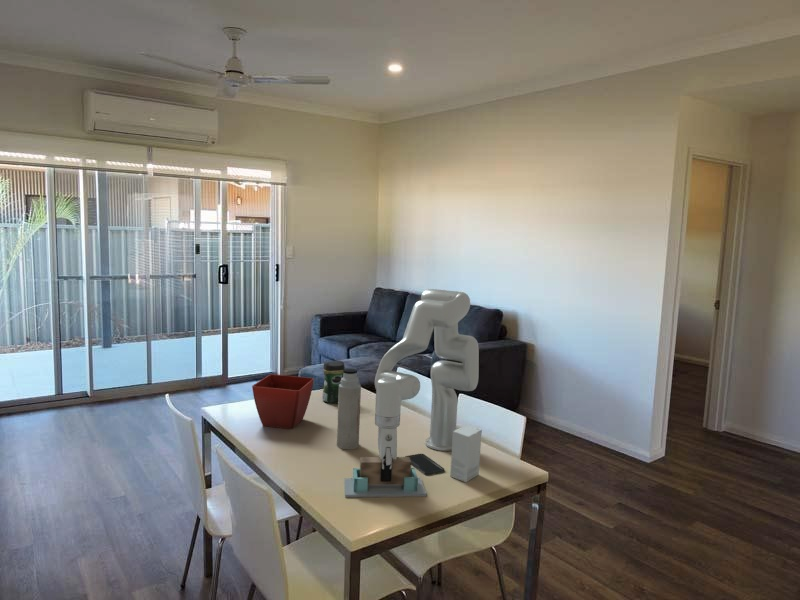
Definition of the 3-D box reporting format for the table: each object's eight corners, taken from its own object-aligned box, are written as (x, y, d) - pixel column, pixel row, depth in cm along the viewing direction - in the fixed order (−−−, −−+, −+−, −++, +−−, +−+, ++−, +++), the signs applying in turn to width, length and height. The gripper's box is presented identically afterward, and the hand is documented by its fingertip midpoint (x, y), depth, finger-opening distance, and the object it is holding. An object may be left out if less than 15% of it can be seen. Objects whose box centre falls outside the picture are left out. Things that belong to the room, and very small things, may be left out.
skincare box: (463, 469, 186) (466, 424, 184) (480, 475, 182) (483, 429, 180) (449, 477, 179) (451, 430, 178) (466, 483, 175) (469, 435, 174)
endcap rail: (420, 479, 176) (421, 465, 176) (426, 496, 165) (427, 480, 165) (344, 480, 173) (344, 466, 173) (345, 497, 162) (345, 481, 162)
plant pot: (297, 433, 212) (299, 390, 210) (250, 428, 215) (251, 385, 213) (313, 417, 231) (314, 377, 229) (269, 413, 234) (270, 374, 232)
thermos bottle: (361, 442, 206) (364, 368, 202) (355, 450, 198) (358, 373, 195) (340, 440, 207) (343, 366, 204) (333, 447, 199) (336, 371, 196)
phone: (422, 453, 196) (445, 469, 183) (422, 456, 196) (445, 472, 183) (402, 456, 193) (425, 473, 179) (402, 459, 193) (425, 476, 180)
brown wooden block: (408, 478, 172) (409, 456, 171) (410, 484, 168) (411, 462, 167) (359, 479, 170) (360, 457, 169) (360, 485, 166) (361, 462, 165)
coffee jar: (339, 397, 261) (340, 358, 259) (346, 402, 254) (347, 362, 252) (319, 399, 256) (321, 359, 254) (326, 404, 249) (327, 363, 247)
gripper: (403, 429, 159) (400, 490, 161) (396, 410, 176) (394, 466, 178) (377, 429, 158) (374, 490, 160) (372, 410, 175) (370, 466, 177)
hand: (385, 477), depth 169 cm, fingers closed on brown wooden block, 4 cm apart
